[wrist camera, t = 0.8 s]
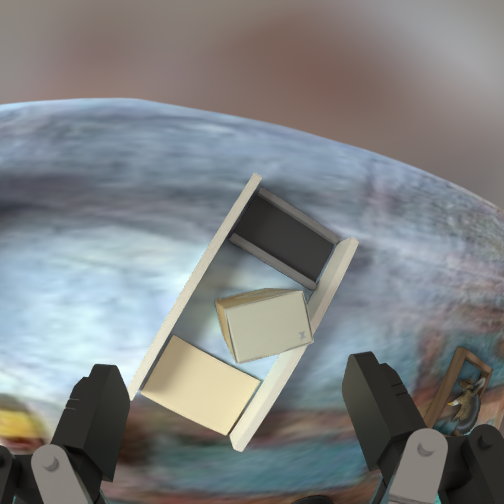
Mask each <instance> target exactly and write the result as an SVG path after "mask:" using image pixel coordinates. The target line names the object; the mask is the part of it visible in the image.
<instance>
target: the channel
mask: <svg viewBox="0 0 504 504" xmlns="http://www.w3.org/2000/svg"><path fill="white" fill-rule="evenodd" d="M261 179H262V177H261V176H259V175H257V174H256V173H254V174H253V176H252V177H251V179H250V180H249V182H248V183H247V185H246V187H245V188H244V190H243V191H242V193H241V194H240V196H239V198H238V199H237V201H236V202H235V204H234V206H233V207H232V209H231V210H230V212H229V214H228V215H227V217H226V218H225V220H224V222H223V223H222V225H221V226H220V228H219V230H218V231H217V233H216V235H215V236H214V238H213V240H212V241H211V243H210V244H209V246H208V248H207V249H206V251H205V253H204V254H203V256H202V258H201V259H200V261H199V263H198V264H197V266H196V268H195V269H194V271H193V273H192V274H191V276H190V278H189V280H188V281H187V283H186V285H185V286H184V288H183V290H182V292H181V293H180V295H179V297H178V298H177V300H176V302H175V304H174V305H173V307H172V309H171V311H170V312H169V314H168V316H167V318H166V319H165V321H164V323H163V325H162V326H161V328H160V330H159V332H158V333H157V335H156V337H155V339H154V341H153V342H152V344H151V346H150V348H149V350H148V351H147V353H146V355H145V357H144V359H143V361H142V362H141V364H140V366H139V368H138V370H137V372H136V373H135V375H134V377H133V379H132V381H131V383H130V385H129V386H128V388H127V391H128V393H129V397H130V400H133V398H134V396H135V394H136V393H137V391H138V389H139V387H140V385H141V383H142V382H143V380H144V378H145V376H146V374H147V372H148V371H149V369H150V367H151V365H152V363H153V362H154V360H155V358H156V356H157V354H158V353H159V351H160V349H161V347H162V346H163V344H164V342H165V340H166V338H167V337H168V335H169V333H170V331H171V330H172V328H173V326H174V324H175V323H176V321H177V319H178V317H179V316H180V314H181V312H182V310H183V309H184V307H185V305H186V304H187V302H188V300H189V298H190V297H191V295H192V293H193V291H194V290H195V288H196V286H197V285H198V283H199V281H200V280H201V278H202V276H203V274H204V273H205V271H206V269H207V268H208V266H209V264H210V263H211V261H212V259H213V258H214V256H215V254H216V253H217V251H218V249H219V248H220V246H221V244H222V243H223V241H224V239H225V238H226V236H227V234H228V233H229V231H230V229H231V228H232V226H233V224H234V223H235V221H236V219H237V218H238V216H239V215H240V213H241V211H242V210H243V208H244V206H245V205H246V203H247V202H248V200H249V198H250V197H251V195H252V194H253V192H254V190H255V189H256V187H257V185H258V184H259V182H260V181H261ZM358 244H359V241H357V240H356V239H354V238H353V237H352V238H349V239H346V240H342V241H339V242H338V244H337V246H336V248H335V250H334V253H333V255H332V257H331V259H330V261H329V263H328V265H327V267H326V269H325V271H324V273H323V275H322V277H321V279H320V280H319V282H318V284H317V286H316V288H315V290H314V292H313V294H312V296H311V298H310V300H309V302H308V303H307V309H308V313H309V318H310V323H311V328H312V334H313V335H314V333H315V331H316V329H317V327H318V325H319V323H320V322H321V320H322V318H323V316H324V314H325V312H326V310H327V308H328V306H329V304H330V302H331V300H332V298H333V296H334V294H335V292H336V290H337V288H338V286H339V284H340V282H341V280H342V278H343V276H344V274H345V272H346V270H347V268H348V266H349V263H350V261H351V259H352V257H353V255H354V253H355V251H356V248H357V246H358ZM307 346H308V345H305V346H302V347H299V348H296V349H293V350H289V351H286V352H283V353H280V354H279V356H278V358H277V359H276V361H275V363H274V364H273V366H272V368H271V370H270V371H269V373H268V375H267V376H266V378H265V380H264V381H263V383H262V385H261V386H260V388H259V390H258V391H257V393H256V394H255V396H254V398H253V399H252V401H251V403H250V404H249V406H248V407H247V409H246V411H245V412H244V414H243V415H242V417H241V418H240V420H239V422H238V423H237V425H236V426H235V428H234V429H233V431H232V432H231V434H230V439H231V442H232V445H233V448H234V449H235V450H237V451H240V452H242V451H243V449H244V448H245V446H246V445H247V444H248V442H249V441H250V439H251V438H252V436H253V435H254V433H255V432H256V430H257V429H258V427H259V426H260V424H261V422H262V421H263V419H264V418H265V416H266V415H267V413H268V411H269V410H270V408H271V407H272V405H273V404H274V402H275V400H276V399H277V397H278V395H279V394H280V392H281V391H282V389H283V387H284V386H285V384H286V382H287V380H288V379H289V377H290V375H291V374H292V372H293V370H294V369H295V367H296V365H297V363H298V362H299V360H300V358H301V356H302V355H303V353H304V351H305V349H306V347H307Z"/></svg>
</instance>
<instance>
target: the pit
mask: <svg viewBox="0 0 504 504" xmlns="http://www.w3.org/2000/svg"><path fill="white" fill-rule="evenodd" d="M339 239H340V238H339V237H338V236H336V235H335V234H334V233H332V232H331V231H329V230H328V229H326V228H325V227H323V226H322V225H320V224H319V223H317V222H316V221H314V220H313V219H311V218H310V217H308V216H307V215H305V214H304V213H302V212H300V211H299V210H297V209H296V208H294V207H293V206H291V205H290V204H288V203H287V202H285V201H283V200H282V199H280V198H279V197H277V196H276V195H274V194H272V193H271V192H269V191H268V190H266V189H264V188H263V187H261V188H260V190H259V191H258V193H257V194H256V196H255V198H254V199H253V201H252V203H251V204H250V206H249V207H248V209H247V211H246V212H245V214H244V216H243V217H242V219H241V221H240V222H239V224H238V226H237V227H236V229H235V231H234V232H233V234H232V235H231V237H230V239H229V240H228V241H230V242H232V243H233V244H235V245H237V246H238V247H240V248H242V249H243V250H245V251H247V252H248V253H250V254H251V255H253V256H255V257H256V258H258V259H260V260H261V261H263V262H265V263H266V264H268V265H270V266H271V267H273V268H275V269H276V270H278V271H279V272H281V273H283V274H284V275H286V276H288V277H289V278H291V279H293V280H294V281H296V282H298V283H299V284H301V285H303V286H304V287H306V288H308V289H309V290H314V289H315V287H316V285H317V283H315V281H316V280H317V278H318V276H319V274H320V272H321V270H322V268H323V266H324V264H325V262H326V260H327V258H328V256H329V254H330V252H331V250H332V248H333V246H334V245H335V244H337V243H338V241H339Z"/></svg>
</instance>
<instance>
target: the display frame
mask: <svg viewBox="0 0 504 504" xmlns="http://www.w3.org/2000/svg"><path fill="white" fill-rule="evenodd" d="M465 360H466V361H468V362H469V363H471V364H472V365H473V366H475V367H476V368H478V369H479V370H480V371H482V373H481V375H480V378H479V380H480V379H481V378H485V382H484V385H483V386H482V387H481V388H480V389H479V390H478V392H477V393H476V394H477V395H478V397H479V398H480V400H481V398H482V396H483V394H484V392H485V389H486V387H487V385H488V382H489V380H490V377H491V375H492V372H493V369H492V368H491V367H490V366H488V365H487V364H486V363H484V362H483V361H482V360H480V359H479V358H478V357H477V356H475V355H474V354H473V353H471V352H470V351H469V350H467V349H466V348H461V347H457V349H456V351H455V354H454V356H453V359H452V361H451V363H450V366H449V368H448V370H447V372H446V375H445V377H444V379H443V381H442V383H441V386H440V388H439V390H438V392H437V394H436V396H435V398H434V400H433V402H432V404H431V406H430V408H429V409H428V411H427V413H426V415H425V417H424V419H423V420H424V422H425V424H426V426H427V427H428V428H429V429H432V427H433V425H434V424H435V422H436V420H437V418H438V416H439V414H440V412H441V411H442V409H443V407H444V405H445V403H446V401H447V399H448V397H449V395H450V392H451V390H452V388H453V386H454V384H455V382H456V379H457V377H458V375H459V372H460V370H461V368H462V365H463V363H464V361H465ZM479 380H478V381H479ZM456 428H457V426H456ZM456 428H455V430H454V432H453V434H452V436H450V435H446V434H443V433H441V434H442V435H443V436H444V437H453V436H459V434H458V431H456ZM460 436H463V435H460Z"/></svg>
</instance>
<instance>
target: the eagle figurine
mask: <svg viewBox="0 0 504 504" xmlns="http://www.w3.org/2000/svg"><path fill="white" fill-rule="evenodd" d="M470 379H471V377H469V379H467V380H465V381H464V380H461V379H458V380H459V385H460V386H461V387H462V389H463V394H462V395H460V396H459V397H458V398H457V399H455V400H454V401H452V402H450V403H448V405H451V406H454V405H457V404H462V405H461V408H460V410H459V411H458V413H457V414H456V416H455V417H454V418H453V419H452V421H451V422H456V421H457V420H458V419H459V418H460V420H459V422H458V424H457V428H456V431H458V434H459V436H460V435H464V434H467V432H470V430H471V429H472V427H474V425H475V423H476V421H477V419H478V414H479V411H480V405H481V400H480V398H479V397H478V395H477V394H476V393H477V392H478V390H479V389H480V388H481V387H482V386H483V385H484V382H485V378H481V379H480V380H479V381H478V382H477V383H476V384H475V386H474V388H473V387H472V385H471V384H474V382H475V381H476V379H477V378H476V379H475V380H473V381H469V380H470Z"/></svg>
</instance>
